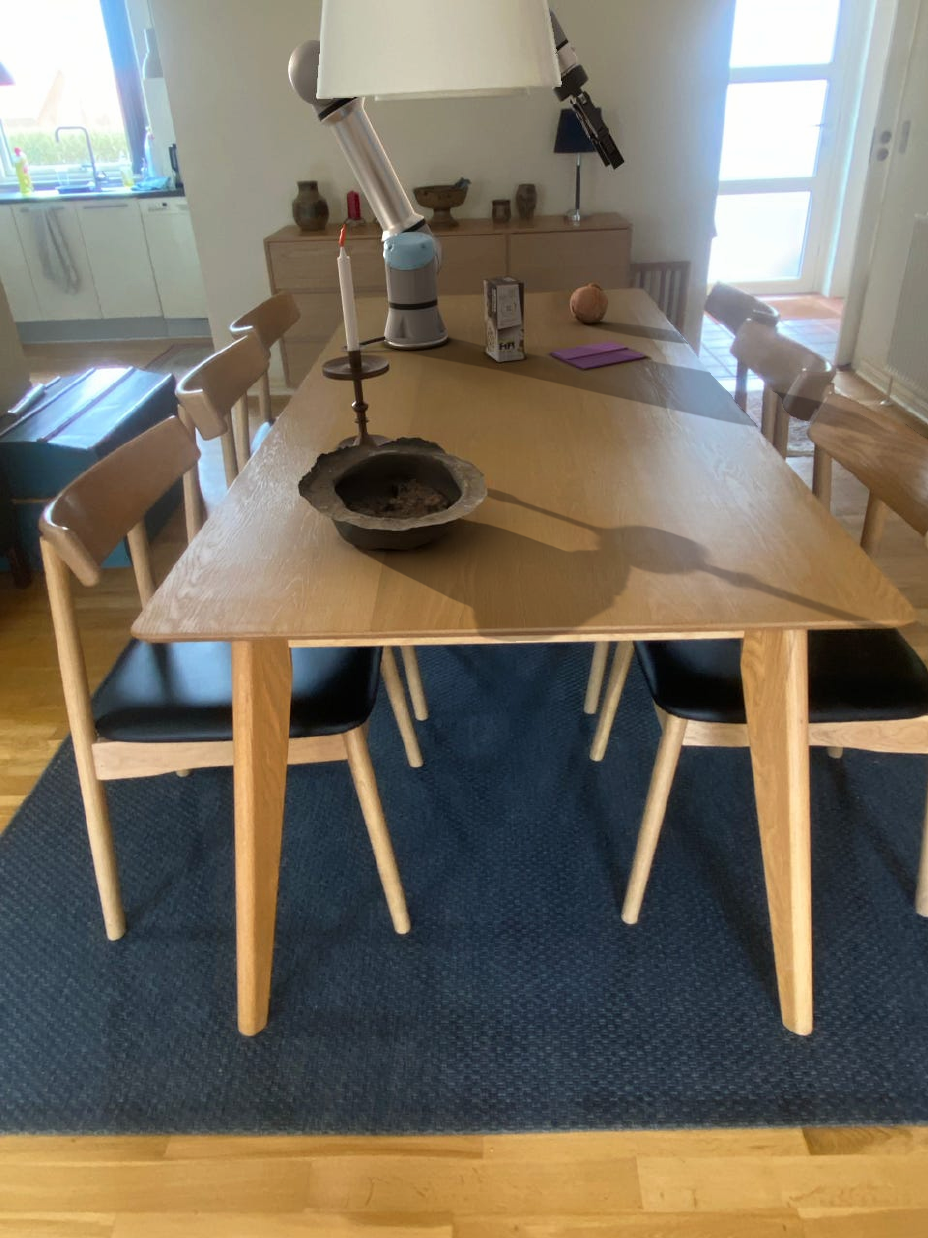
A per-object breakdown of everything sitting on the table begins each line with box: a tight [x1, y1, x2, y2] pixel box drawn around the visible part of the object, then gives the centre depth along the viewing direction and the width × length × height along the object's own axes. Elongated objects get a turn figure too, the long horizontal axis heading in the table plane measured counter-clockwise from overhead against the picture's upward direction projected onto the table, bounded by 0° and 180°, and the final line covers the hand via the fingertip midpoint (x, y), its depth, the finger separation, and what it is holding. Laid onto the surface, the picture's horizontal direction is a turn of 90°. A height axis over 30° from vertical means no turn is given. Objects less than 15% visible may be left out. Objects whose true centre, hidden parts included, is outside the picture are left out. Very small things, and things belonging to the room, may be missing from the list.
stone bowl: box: [297, 436, 488, 551], centre depth 112 cm, size 25×25×9 cm
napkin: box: [550, 340, 648, 370], centre depth 182 cm, size 16×14×1 cm
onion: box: [569, 282, 609, 325], centre depth 205 cm, size 10×9×10 cm
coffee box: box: [483, 275, 525, 363], centre depth 181 cm, size 9×6×16 cm
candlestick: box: [321, 223, 392, 449], centre depth 131 cm, size 11×11×35 cm
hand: (615, 164), depth 187 cm, fingers open, 13 cm apart
